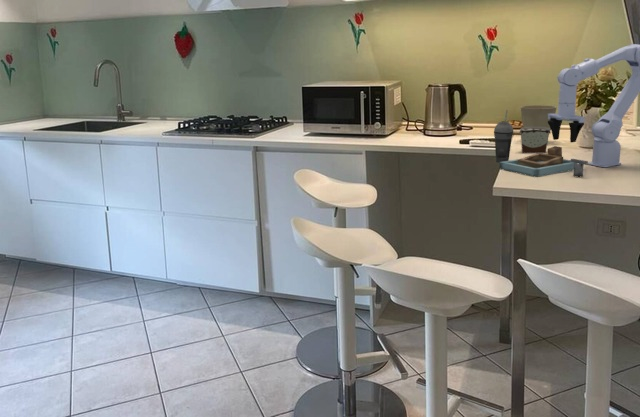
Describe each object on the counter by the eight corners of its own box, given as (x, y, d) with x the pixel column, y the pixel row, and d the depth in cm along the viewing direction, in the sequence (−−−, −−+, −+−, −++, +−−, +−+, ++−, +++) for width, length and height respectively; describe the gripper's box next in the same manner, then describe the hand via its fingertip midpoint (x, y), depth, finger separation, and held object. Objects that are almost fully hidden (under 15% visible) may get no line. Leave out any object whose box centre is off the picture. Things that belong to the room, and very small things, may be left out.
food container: (545, 150, 263) (547, 126, 261) (549, 152, 258) (551, 128, 255) (515, 150, 265) (516, 126, 262) (518, 153, 259) (519, 128, 256)
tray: (541, 161, 241) (542, 155, 240) (579, 168, 227) (579, 161, 226) (499, 168, 231) (499, 162, 230) (535, 176, 216) (536, 169, 216)
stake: (573, 173, 219) (574, 158, 218) (588, 176, 214) (589, 160, 212) (567, 175, 218) (568, 159, 216) (582, 178, 213) (583, 162, 211)
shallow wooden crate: (546, 156, 237) (546, 144, 236) (571, 160, 228) (570, 148, 227) (517, 166, 231) (517, 154, 230) (541, 171, 222) (541, 159, 220)
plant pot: (560, 142, 280) (563, 106, 276) (542, 146, 271) (544, 109, 267) (530, 139, 292) (532, 104, 287) (512, 143, 282) (513, 107, 278)
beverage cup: (503, 159, 247) (505, 108, 242) (516, 162, 241) (519, 109, 236) (488, 161, 244) (490, 109, 239) (501, 164, 238) (503, 111, 233)
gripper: (543, 102, 230) (540, 139, 234) (576, 105, 218) (573, 144, 221) (556, 100, 233) (554, 137, 237) (590, 103, 221) (587, 142, 225)
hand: (564, 140), depth 229 cm, fingers open, 7 cm apart
